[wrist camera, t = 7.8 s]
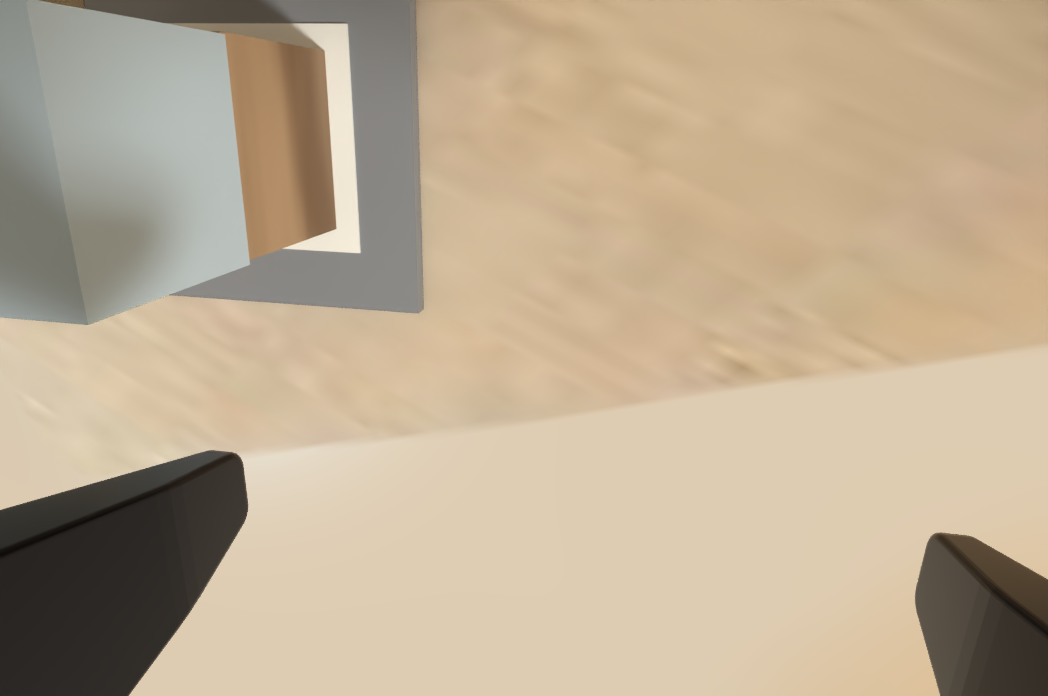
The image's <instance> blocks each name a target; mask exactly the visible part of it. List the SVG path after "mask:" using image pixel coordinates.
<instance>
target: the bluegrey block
mask: <svg viewBox="0 0 1048 696" xmlns="http://www.w3.org/2000/svg"><path fill="white" fill-rule="evenodd" d="M248 265H250V259H249V250H248V241H247V232H246V223H245V213H244V204H243V195H242V186H241V177H240V167H239V158H238V149H237V140H236V131H235V121H234V112H233V103H232V94H231V85H230V76H229V66H228V57H227V48H226V39H225V34H221V33H216V32H210V31H205V30H199V29H194V28H188V27H183V26H177V25H172V24H166V23H161V22H155V21H150V20H144V19H139V18H133V17H128V16H122V15H117V14H111V13H106V12H100V11H95V10H89V9H84V8H78V7H72V6H67V5H61V4H56V3H50V2H45V1H39V0H0V318H12V319H24V320H36V321H48V322H60V323H71V324H83V325H89V324H92V323H94V322H97V321H100V320H102V319H105V318H108V317H111V316H113V315H116V314H119V313H121V312H124V311H127V310H129V309H132V308H135V307H138V306H140V305H143V304H146V303H148V302H151V301H154V300H156V299H159V298H162V297H164V296H167V295H170V294H173V293H175V292H178V291H181V290H183V289H186V288H189V287H191V286H194V285H197V284H200V283H202V282H205V281H208V280H210V279H213V278H216V277H218V276H221V275H224V274H226V273H229V272H232V271H235V270H237V269H240V268H243V267H245V266H248Z"/></svg>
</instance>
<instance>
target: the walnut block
mask: <svg viewBox="0 0 1048 696" xmlns="http://www.w3.org/2000/svg"><path fill="white" fill-rule="evenodd" d="M210 32H216V33H221V34H225V39H226V48H227V57H228V66H229V76H230V85H231V94H232V103H233V112H234V121H235V131H236V140H237V149H238V158H239V167H240V177H241V186H242V195H243V204H244V213H245V223H246V232H247V241H248V250H249V259H250V260H252V259H255V258H257V257H260V256H263V255H266V254H269V253H271V252H274V251H277V250H280V249H282V248H285V247H288V246H291V245H294V244H296V243H299V242H302V241H305V240H307V239H310V238H313V237H316V236H319V235H321V234H324V233H327V232H330V231H332V230H335V229H337V228H336V213H335V198H334V183H333V168H332V153H331V138H330V123H329V108H328V93H327V78H326V63H325V51H324V50H318V49H313V48H307V47H302V46H297V45H291V44H286V43H281V42H275V41H270V40H264V39H259V38H254V37H248V36H243V35H238V34H232V33H227V32H221V31H210Z"/></svg>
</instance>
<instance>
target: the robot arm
mask: <svg viewBox="0 0 1048 696" xmlns="http://www.w3.org/2000/svg"><path fill="white" fill-rule="evenodd" d="M247 512H248V499H247V491H246V483H245V476H244V467H243V462H242V460H241V458H240V457H239V456H238V455H237V454H236V453H232V452H224V451H215V450H210V451H205V452H202V453H198V454H195V455H191V456H188V457H184V458H181V459H177V460H174V461H170V462H167V463H163V464H160V465H156V466H153V467H149V468H146V469H142V470H139V471H135V472H132V473H128V474H125V475H121V476H118V477H114V478H111V479H107V480H104V481H100V482H97V483H93V484H90V485H86V486H83V487H79V488H76V489H72V490H69V491H65V492H62V493H58V494H55V495H51V496H48V497H45V498H41V499H37V500H34V501H30V502H27V503H23V504H20V505H16V506H13V507H9V508H6V509H2V510H0V696H129V694H130V693H131V692H132V690H133V689H134V688H135V686H136V685H137V684H138V682H139V681H140V680H141V678H142V677H143V676H144V674H145V673H146V672H147V670H148V669H149V667H150V666H151V665H152V664H153V662H154V661H155V659H156V658H157V657H158V655H159V654H160V653H161V651H162V650H163V649H164V647H165V646H166V645H167V643H168V642H169V641H170V639H171V638H172V637H173V635H174V634H175V633H176V631H177V630H178V628H179V627H180V626H181V624H182V623H183V621H184V620H185V619H186V617H187V615H188V614H189V613H190V611H191V610H192V608H193V607H194V605H195V603H196V602H197V600H198V599H199V597H200V596H201V594H202V592H203V591H204V589H205V587H206V586H207V584H208V582H209V581H210V579H211V577H212V576H213V574H214V572H215V571H216V569H217V567H218V566H219V564H220V562H221V560H222V559H223V557H224V556H225V554H226V552H227V551H228V549H229V547H230V545H231V544H232V542H233V541H234V539H235V537H236V536H237V534H238V532H239V531H240V529H241V527H242V525H243V524H244V522H245V519H246V516H247ZM915 604H916V610H917V615H918V618H919V621H920V625H921V629H922V632H923V636H924V639H925V643H926V647H927V650H928V654H929V657H930V660H931V664H932V668H933V671H934V675H935V678H936V682H937V686H938V689H939V693H940V696H1048V579H1046V578H1044V577H1043V576H1041V575H1039V574H1037V573H1035V572H1034V571H1032V570H1030V569H1028V568H1027V567H1025V566H1023V565H1021V564H1020V563H1018V562H1016V561H1014V560H1013V559H1011V558H1009V557H1007V556H1006V555H1004V554H1002V553H1000V552H998V551H997V550H995V549H993V548H992V547H990V546H988V545H986V544H984V543H983V542H981V541H979V540H977V539H976V538H974V537H971V536H966V535H958V534H949V533H935V534H933V535H932V536H931V537H930V539H929V541H928V543H927V546H926V550H925V554H924V558H923V562H922V566H921V570H920V574H919V578H918V582H917V587H916V593H915Z"/></svg>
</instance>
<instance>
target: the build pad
mask: <svg viewBox="0 0 1048 696" xmlns="http://www.w3.org/2000/svg"><path fill="white" fill-rule="evenodd" d="M84 6H85V9H89V10H95V11H100V12H106V13H111V14H117V15H122V16H128V17H133V18H139V19H144V20H150V21H155V22H161V23H166V24H172V25H177V26H183V27H188V28H194V29H199V30H205V31H221V32H227V33H232V34H238V35H243V36H248V37H254V38H259V39H264V40H270V41H275V42H281V43H286V44H291V45H297V46H302V47H307V48H313V49H318V50H324V51H325V63H326V78H327V93H328V108H329V123H330V138H331V153H332V168H333V183H334V198H335V213H336V228H337V229H335V230H332V231H330V232H327V233H324V234H321V235H319V236H316V237H313V238H310V239H307V240H305V241H302V242H299V243H296V244H294V245H291V246H288V247H285V248H282V249H280V250H277V251H274V252H271V253H269V254H266V255H263V256H260V257H257V258H255V259H252V260H250V265H248V266H245V267H243V268H240V269H237V270H235V271H232V272H229V273H226V274H224V275H221V276H218V277H216V278H213V279H210V280H208V281H205V282H202V283H200V284H197V285H194V286H191V287H189V288H186V289H183V290H181V291H178V292H175V293H173V294H170V295H175V296H189V297H203V298H216V299H230V300H243V301H257V302H270V303H284V304H297V305H311V306H325V307H338V308H352V309H365V310H379V311H392V312H406V313H420V312H421V311H422V310H423V309H424V305H423V268H422V230H421V193H420V156H419V119H418V82H417V45H416V8H415V0H84Z"/></svg>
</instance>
